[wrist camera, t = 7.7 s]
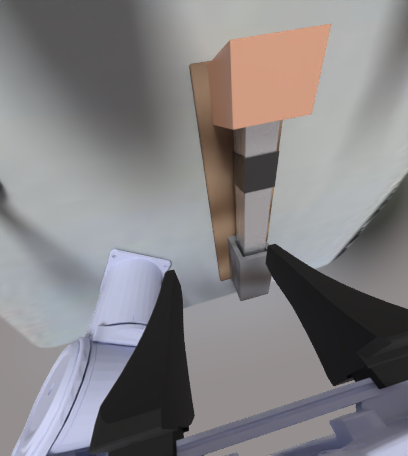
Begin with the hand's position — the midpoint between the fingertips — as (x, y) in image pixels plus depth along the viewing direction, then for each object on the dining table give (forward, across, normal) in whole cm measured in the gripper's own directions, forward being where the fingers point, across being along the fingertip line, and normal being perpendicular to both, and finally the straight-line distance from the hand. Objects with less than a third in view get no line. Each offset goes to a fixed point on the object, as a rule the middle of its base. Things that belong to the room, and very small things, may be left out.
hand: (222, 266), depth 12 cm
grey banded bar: (+8, -5, -1) cm, 9 cm away
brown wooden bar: (+9, -5, +1) cm, 11 cm away
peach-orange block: (+9, -5, -10) cm, 14 cm away
